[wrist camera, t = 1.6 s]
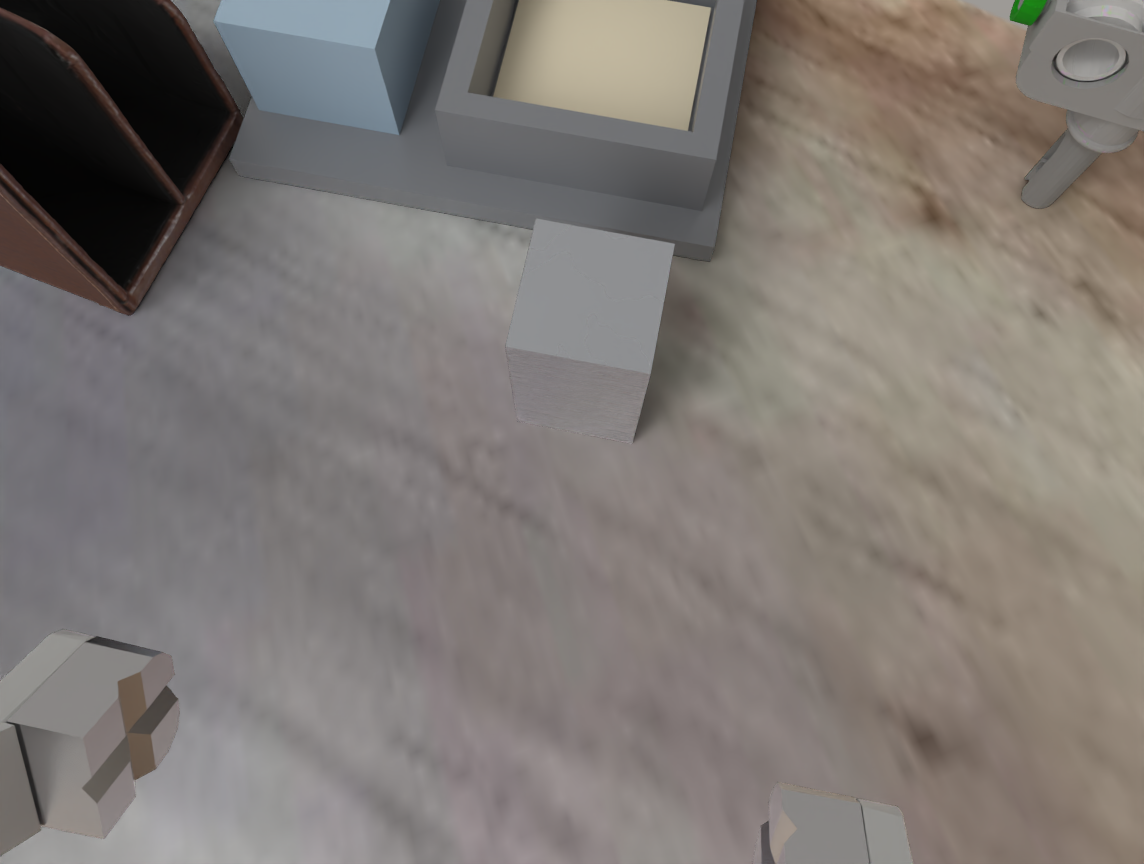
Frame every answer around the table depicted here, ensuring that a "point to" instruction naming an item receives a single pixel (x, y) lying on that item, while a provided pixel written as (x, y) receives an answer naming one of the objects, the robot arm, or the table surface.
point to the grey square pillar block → (586, 329)
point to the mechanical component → (1081, 82)
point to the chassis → (499, 107)
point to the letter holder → (104, 141)
